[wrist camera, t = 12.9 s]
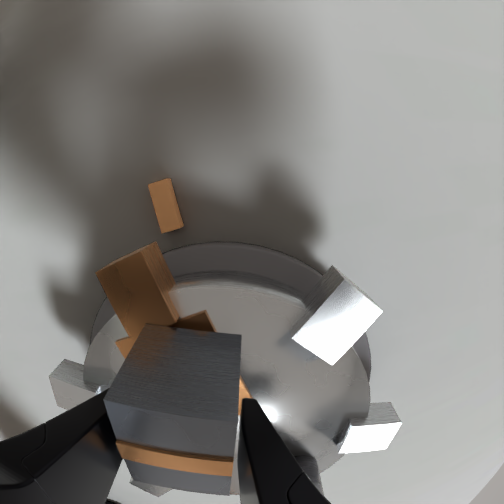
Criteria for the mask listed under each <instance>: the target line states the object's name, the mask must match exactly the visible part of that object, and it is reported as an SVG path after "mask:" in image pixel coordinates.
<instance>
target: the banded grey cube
mask: <svg viewBox="0 0 504 504" xmlns="http://www.w3.org/2000/svg"><path fill="white" fill-rule="evenodd" d="M241 339H242V335H240V334H229V333H219V332H209V331H200V330H191V329H183V328H175V327H168V326H161V325H154V324H147V323H146V324H145V326H144V327H143V329H142V331H141V332H140V334H139V336H138V338H137V339H136V341H135V343H134V345H133V346H132V348H131V350H130V352H129V353H128V355H127V357H126V359H125V361H124V362H123V364H122V366H121V368H120V370H119V371H118V373H117V375H116V377H115V379H114V381H113V382H112V384H111V386H110V388H109V390H108V392H107V394H106V396H105V397H104V399H103V400H104V404H105V407H106V410H107V413H108V416H109V419H110V422H111V425H112V428H113V431H114V434H115V436H116V439H117V441H116V445H117V447H118V450H119V452H120V455H121V457H122V458H123V459H124V460H125V462H126V464H127V467H128V469H129V472H130V474H131V476H132V478H133V480H134V481H138V482H143V483H147V484H151V485H156V486H161V487H166V488H172V489H178V490H184V491H191V492H198V493H206V494H216V495H227V496H229V494H230V486H231V477H232V471H233V461H234V452H235V443H236V434H237V426H238V408H239V384H240V361H241Z"/></svg>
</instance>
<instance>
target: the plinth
mask: <svg viewBox="0 0 504 504" xmlns="http://www.w3.org/2000/svg"><path fill="white" fill-rule="evenodd" d="M148 187H149V191H150V195H151V198H152V202H153V206H154V209H155V213H156V216H157V219H158V223H159V226H160V230H161V233H166V232H169V231H173V230H176V229H179V228H182V227H183V226H184V225H183V221H182V218H181V214H180V211H179V207H178V204H177V200H176V197H175V193H174V189H173V186H172V182H171V179H168V178H166V179H163V180H160V181H157V182H154V183H151V184H149V185H148ZM162 255H163V257H164V259H165V262H166V264H167V266H168V268H169V270H170V272H171V274H172V276H177V275H182V274H186V273H190V272H199V271H208V270H221V271H237V272H245V273H252V274H256V275H260V276H264V277H267V278H271V279H274V280H277V281H279V282H282V283H284V284H287V285H289V286H292V287H294V288H295V289H297V290H299V291H301V292H303V293H304V294H306V295H307V294H308V293H309V291H310V290H311V289H312V288H313V287H314V286H315V285H316V283H317V282H318V281H319V280H320V279H321V277H322V276H323V275H321V274H320V273H319V272H318V271H316V270H315V269H313V268H311V267H310V266H308V265H307V264H305V263H303V262H302V261H300V260H298V259H296V258H293V257H291V256H289V255H287V254H284V253H282V252H279V251H276V250H272V249H269V248H266V247H262V246H258V245H252V244H245V243H239V242H209V243H200V244H192V245H188V246H184V247H180V248H176V249H173V250H170V251H168V252H166V253H163V254H162ZM115 314H116V313H115V311H114V309H113V307H112V305H111V303H110V301H109V299H108V297H106V299H105V301H104V302H103V304H102V306H101V308H100V309H99V311H98V314H97V316H96V319H95V322H94V324H93V329H92V334H91V340H90V345H91V343H92V342H93V340H94V338H95V336H96V335H97V334H98V332H99V331H100V330H101V329H102V328H103V326H104V325H105V324H106V323H107V322H108V321H109V320H110V319H111V318H112V317H113V316H114V315H115ZM352 346H353V347H354V349H355V351H356V353H357V354H358V356H359V358H360V360H361V362H362V364H363V367H364V369H365V371H366V373H367V377H368V382H369V380H370V372H371V354H370V348H369V343H368V339H367V336H366V333H365V332H364V333H363V334H362V335H361V336H360V337H359V338H358V339H357V340H356V341H355V342H354V343H353V345H352Z"/></svg>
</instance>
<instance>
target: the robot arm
mask: <svg viewBox="0 0 504 504" xmlns="http://www.w3.org/2000/svg"><path fill="white" fill-rule="evenodd" d="M108 390H109V388H108V389H106V390H104V391H103V392H101V393H99V394H97V395H95V396H94V397H92V398H90V399H88V400H86V401H84V402H83V403H81V404H79V405H77V406H75V407H73V408H72V409H70V410H68V411H66V412H64V413H62V414H60V415H58V416H56V417H55V418H53V419H51V420H49V421H47V422H46V423H43V424H41V425H39V426H37V427H35V428H33V429H31V430H29V431H26V432H24V433H22V434H19V435H17V436H14V437H12V438H9V439H6V440H3V441H0V504H112V503H109V502H106V499H107V497H108V494H109V492H110V489H111V486H112V484H113V481H114V479H115V476H116V474H117V471H118V469H119V466H120V464H121V461H122V459H123V458H122V457H121V455H120V452H119V450H118V447H117V445H116V441H117V439H116V436H115V434H114V431H113V428H112V425H111V422H110V419H109V416H108V413H107V410H106V407H105V404H104V400H103V399H104V397H105V396H106V394H107V392H108ZM237 468H238V479H239V490H240V501H241V504H331V503H330V502H329V501H328V500H327V499H326V498H325V497H324V496H323V494H322V493H321V492H320V491H319V490H318V489H317V487H316V486H315V485H314V484H313V482H312V481H311V480H310V478H309V477H308V476H307V474H306V473H305V472H303V469H302V467H301V466H300V465H299V463H298V462H297V460H296V459H295V457H294V456H293V455H292V453H291V452H290V450H289V449H288V447H287V446H286V444H285V443H284V441H283V440H282V438H281V437H280V435H279V434H278V432H277V431H276V429H275V428H274V426H273V425H272V423H271V422H270V420H269V419H268V417H267V415H266V414H265V412H264V411H263V409H262V408H261V406H260V404H259V403H258V401H257V400H256V399H254V398H243V399H242V404H241V413H240V425H239V439H238V454H237Z"/></svg>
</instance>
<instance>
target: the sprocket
mask: <svg viewBox="0 0 504 504" xmlns="http://www.w3.org/2000/svg"><path fill="white" fill-rule="evenodd" d="M95 273H96V275H97V277H98V279H99V281H100V283H101V285H102V288H103V290H104V291H105V293H106V295H107V297H108V299H109V301H110V303H111V305H112V307H113V309H114V311H115V313H116V314H115V315H114V316H113V317H112V318H111V319H110V320H109V321H108V322H107V323H106V324H105V325H104V326H103V328H102V329H101V330H100V331H99V332H98V334H97V335H96V336H95V338H94V340H93V342H92V343H91V345H90V347H89V349H88V352H87V355H86V359H85V362H84V365H82V364H79V363H76V362H73V361H70V360H67V359H64V360H63V361H62V362H61V363H60V364H59V365H58V367H57V368H56V369H55V370H54V371H53V372H52V373H51V374H50V375H49V379H50V382H51V386H52V389H53V393H54V396H55V399H56V402H57V405H58V406H59V407H62V408H64V409H67V410H70V409H72V408H73V407H75V406H77V405H79V404H81V403H83V402H84V401H86V400H88V399H90V398H92V397H94V396H95V395H97V394H99V393H101V392H103V391H104V390H106V389H108V388H110V386H111V384H112V382H113V381H114V379H115V377H116V375H117V373H118V371H119V370H120V368H121V366H122V364H123V362H124V361H125V359H126V357H127V355H128V353H129V352H130V350H131V348H132V346H133V345H134V343H135V341H136V339H137V338H138V336H139V334H140V332H141V331H142V329H143V327H144V326H145V324H146V323H147V324H154V325H161V326H168V327H175V328H183V329H191V330H200V331H209V332H219V333H229V334H240V335H242V339H241V361H240V384H239V408H238V426H237V434H236V443H235V452H234V461H233V471H232V477H231V486H230V494H231V495H240V490H239V479H238V468H237V454H238V439H239V425H240V413H241V404H242V399H243V398H254V399H256V400H257V401H258V403H259V404H260V406H261V408H262V409H263V411H264V412H265V414H266V415H267V417H268V419H269V420H270V422H271V423H272V425H273V426H274V428H275V429H276V431H277V432H278V434H279V435H280V437H281V438H282V440H283V441H284V443H285V444H286V446H287V447H288V449H289V450H290V452H291V453H292V455H293V456H294V457H295V459H296V460H297V462H298V463H299V465H300V466H301V467H302V469H303V472H305V473H306V474H307V476H308V477H309V478H310V480H311V481H312V482H313V484H314V485H315V486H316V487H317V489H318V490H319V491H320V492H321V493H322V494H323V488H322V483H321V478H320V473H321V472H323V471H324V470H326V469H328V468H329V467H331V466H332V465H333V464H334V463H335V462H337V461H338V460H339V459H340V458H341V457H342V456H343V455H344V454H345V453H352V452H363V451H373V450H382V449H386V448H387V446H388V445H389V443H390V442H391V440H392V438H393V437H394V435H395V433H396V432H397V430H398V428H399V427H400V425H401V423H402V422H401V420H400V419H399V417H398V415H397V413H396V411H395V409H394V408H393V406H392V404H391V402H383V403H370V386H369V382H368V377H367V373H366V371H365V369H364V367H363V364H362V362H361V360H360V358H359V356H358V354H357V353H356V351H355V349H354V347H353V346H352V345H353V343H354V342H355V341H356V340H357V339H358V338H359V337H360V336H361V335H362V334H363V333H364V332H365V331H366V330H367V328H368V327H369V326H370V325H371V324H372V323H373V322H374V321H375V320H376V318H377V317H378V316H379V315H380V314H381V313H382V312H383V311H382V310H381V309H380V308H379V307H378V306H377V305H376V304H375V302H374V301H373V300H372V299H371V298H370V297H369V296H368V295H367V294H366V293H365V292H363V291H362V290H361V289H360V288H359V287H358V286H356V285H355V284H354V283H353V282H352V281H350V280H349V279H348V278H347V277H346V276H345V275H343V274H342V273H341V272H340V271H339V270H337V269H336V268H335V267H334V266H333V265H332V266H331V267H330V268H329V269H328V270H327V272H326V273H325V274H324V275H323V276H322V277H321V279H320V280H319V281H318V282H317V283H316V285H315V286H314V287H313V288H312V289H311V290H310V291H309V293H308V294H307V295H306V294H304V293H303V292H301V291H299V290H297V289H295V288H294V287H292V286H289V285H287V284H284V283H282V282H279V281H277V280H274V279H271V278H267V277H264V276H260V275H256V274H252V273H245V272H237V271H221V270H208V271H199V272H190V273H186V274H182V275H177V276H172V274H171V272H170V270H169V268H168V266H167V264H166V262H165V259H164V257H163V255H162V253H161V251H160V249H159V246H158V244H157V242H156V241H155V242H153V243H151V244H149V245H147V246H144V247H142V248H140V249H138V250H136V251H134V252H131V253H129V254H127V255H125V256H123V257H121V258H119V259H117V260H114V261H113V262H111V263H110V264H108V265H106V266H105V267H103V268H102V269H100V270H98V271H97V272H95ZM129 483H131V484H132V485H134V486H136V487H138V488H140V489H142V490H144V491H147V492H149V493H151V494H153V495H155V496H157V497H159V496H161V495H163V494H165V493H166V492H168V491H170V490H172V488H166V487H161V486H156V485H151V484H147V483H143V482H138V481H134V480H133V478H132V477H131V480H130V482H129ZM323 496H324V494H323Z"/></svg>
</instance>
